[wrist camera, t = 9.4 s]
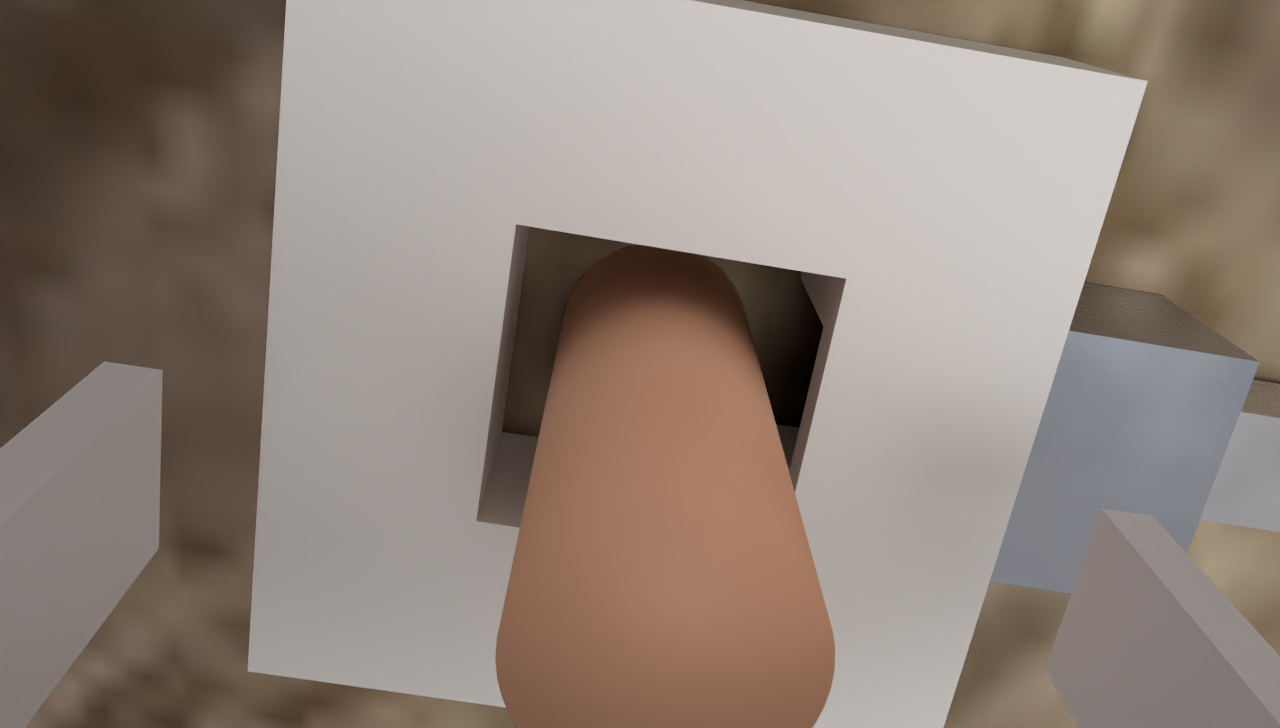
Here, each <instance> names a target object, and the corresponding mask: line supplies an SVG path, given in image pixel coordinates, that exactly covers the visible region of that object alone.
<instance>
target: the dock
mask: <svg viewBox="0 0 1280 728" xmlns="http://www.w3.org/2000/svg"><path fill="white" fill-rule="evenodd" d="M1147 82H1148V81H1145V80H1142V79H1138V78H1134V77H1131V76H1127V75H1124V74H1120V73H1117V72H1113V71H1109V70H1106V69H1102V68H1099V67H1095V66H1091V65H1088V64H1084V63H1081V62H1077V61H1073V60H1070V59H1066V58H1063V57H1059V56H1053V55H1047V54H1042V53H1036V52H1030V51H1025V50H1019V49H1014V48H1008V47H1002V46H997V45H991V44H985V43H980V42H974V41H969V40H963V39H957V38H952V37H946V36H940V35H935V34H929V33H924V32H918V31H912V30H907V29H901V28H895V27H890V26H884V25H879V24H873V23H867V22H862V21H856V20H850V19H845V18H839V17H834V16H828V15H822V14H817V13H811V12H805V11H800V10H794V9H789V8H783V7H777V6H772V5H766V4H760V3H755V2H749V1H744V0H286V15H285V32H284V49H283V67H282V84H281V101H280V118H279V136H278V153H277V170H276V188H275V205H274V222H273V239H272V257H271V274H270V291H269V308H268V326H267V343H266V360H265V378H264V395H263V412H262V429H261V447H260V464H259V481H258V499H257V516H256V533H255V550H254V568H253V585H252V602H251V620H250V637H249V654H248V671H249V672H256V673H263V674H270V675H277V676H284V677H292V678H299V679H306V680H313V681H320V682H327V683H334V684H341V685H349V686H356V687H363V688H370V689H377V690H384V691H391V692H398V693H406V694H413V695H420V696H427V697H434V698H441V699H448V700H455V701H462V702H470V703H477V704H484V705H491V706H498V707H505V708H506V706H505V703H504V701H503V699H502V696H501V692H500V688H499V684H498V680H497V673H496V661H495V655H496V641H497V635H498V630H499V626H500V621H501V616H502V611H503V606H504V601H505V597H506V592H507V587H508V582H509V577H510V573H511V568H512V563H513V558H514V553H515V549H516V544H517V539H518V534H519V529H520V524H521V520H522V515H523V510H524V505H525V500H526V496H527V491H528V486H529V481H530V476H531V472H532V467H533V462H534V457H535V452H536V447H537V443H538V438H539V437H534V436H528V435H521V434H515V433H508V432H502V428H503V420H504V413H505V406H506V399H507V391H508V384H509V377H510V370H511V362H512V355H513V348H514V341H515V333H516V326H517V319H518V312H519V304H520V297H521V290H522V283H523V275H524V268H525V261H526V254H527V246H528V239H529V232H530V227H535V228H541V229H547V230H553V231H560V232H566V233H572V234H578V235H584V236H590V237H596V238H602V239H608V240H614V241H620V242H626V243H632V244H638V245H645V246H651V247H657V248H663V249H669V250H675V251H681V252H687V253H693V254H699V255H705V256H711V257H717V258H724V259H730V260H736V261H742V262H748V263H754V264H760V265H766V266H772V267H778V268H784V269H790V270H796V271H802V272H801V276H800V278H801V280H802V282H803V284H804V286H805V289H806V291H807V293H808V295H809V297H810V299H811V301H812V303H813V306H814V308H815V310H816V312H817V314H818V316H819V318H820V320H821V323H822V325H823V331H822V335H821V339H820V343H819V348H818V352H817V356H816V360H815V365H814V369H813V373H812V377H811V382H810V386H809V390H808V394H807V398H806V403H805V407H804V411H803V415H802V420H801V424H800V428H798V427H792V426H786V425H779V424H776V426H777V430H778V433H779V437H780V441H781V444H782V448H783V452H784V455H785V459H786V462H787V466H788V470H789V473H790V477H791V481H792V484H793V488H794V492H795V495H796V499H797V503H798V506H799V510H800V513H801V517H802V521H803V524H804V528H805V532H806V535H807V539H808V543H809V546H810V550H811V554H812V557H813V561H814V564H815V568H816V572H817V575H818V579H819V583H820V586H821V590H822V594H823V597H824V601H825V605H826V608H827V612H828V615H829V619H830V623H831V626H832V630H833V636H834V644H835V670H834V676H833V681H832V686H831V690H830V693H829V695H828V698H827V701H826V704H825V707H824V708H823V710H822V712H821V714H820V716H819V718H818V720H817V722H816V723H815V725H814V726H813V728H943V727H944V724H945V721H946V718H947V715H948V712H949V708H950V705H951V702H952V699H953V696H954V693H955V689H956V686H957V683H958V680H959V677H960V674H961V670H962V667H963V664H964V661H965V658H966V655H967V651H968V648H969V645H970V642H971V639H972V636H973V632H974V629H975V626H976V623H977V620H978V617H979V614H980V610H981V607H982V604H983V601H984V598H985V595H986V591H987V588H988V585H989V582H990V579H991V576H992V572H993V569H994V566H995V563H996V560H997V557H998V553H999V550H1000V547H1001V544H1002V541H1003V538H1004V534H1005V531H1006V528H1007V525H1008V522H1009V519H1010V515H1011V512H1012V509H1013V506H1014V503H1015V500H1016V496H1017V493H1018V490H1019V487H1020V484H1021V481H1022V477H1023V474H1024V471H1025V468H1026V465H1027V462H1028V459H1029V455H1030V452H1031V449H1032V446H1033V443H1034V440H1035V436H1036V433H1037V430H1038V427H1039V424H1040V421H1041V417H1042V414H1043V411H1044V408H1045V405H1046V402H1047V398H1048V395H1049V392H1050V389H1051V386H1052V383H1053V379H1054V376H1055V373H1056V370H1057V367H1058V364H1059V360H1060V357H1061V354H1062V351H1063V348H1064V345H1065V341H1066V338H1067V335H1068V332H1069V329H1070V326H1071V322H1072V319H1073V316H1074V313H1075V310H1076V307H1077V304H1078V300H1079V297H1080V294H1081V291H1082V288H1083V285H1084V281H1085V278H1086V275H1087V272H1088V269H1089V266H1090V262H1091V259H1092V256H1093V253H1094V250H1095V247H1096V243H1097V240H1098V237H1099V234H1100V231H1101V228H1102V224H1103V221H1104V218H1105V215H1106V212H1107V209H1108V205H1109V202H1110V199H1111V196H1112V193H1113V190H1114V186H1115V183H1116V180H1117V177H1118V174H1119V171H1120V167H1121V164H1122V161H1123V158H1124V155H1125V152H1126V149H1127V145H1128V142H1129V139H1130V136H1131V133H1132V130H1133V126H1134V123H1135V120H1136V117H1137V114H1138V111H1139V107H1140V104H1141V101H1142V98H1143V95H1144V92H1145V88H1146V85H1147Z"/></svg>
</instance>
